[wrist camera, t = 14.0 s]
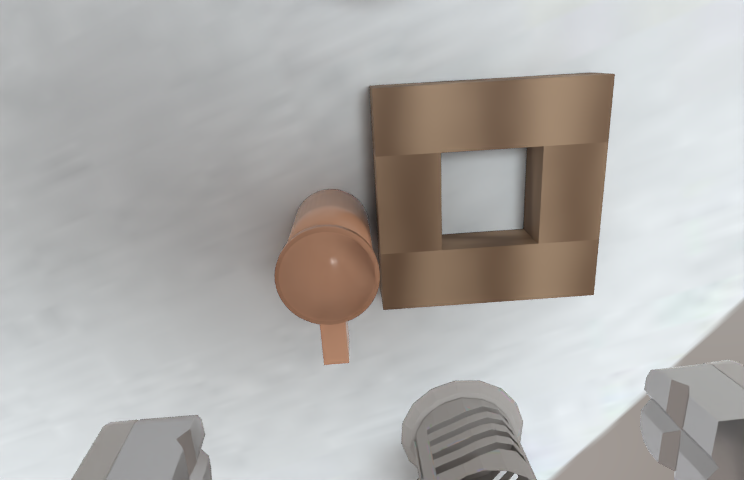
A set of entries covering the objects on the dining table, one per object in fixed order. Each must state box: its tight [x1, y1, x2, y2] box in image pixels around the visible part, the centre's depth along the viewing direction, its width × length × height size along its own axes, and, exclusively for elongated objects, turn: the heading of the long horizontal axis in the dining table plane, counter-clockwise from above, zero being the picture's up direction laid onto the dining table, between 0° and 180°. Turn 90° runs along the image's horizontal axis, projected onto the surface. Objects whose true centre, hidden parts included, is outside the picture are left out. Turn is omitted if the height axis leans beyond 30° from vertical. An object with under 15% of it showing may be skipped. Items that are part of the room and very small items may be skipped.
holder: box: [370, 73, 615, 310], centre depth 33 cm, size 14×14×3 cm
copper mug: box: [275, 189, 380, 365], centre depth 32 cm, size 8×5×9 cm, turn 4°
